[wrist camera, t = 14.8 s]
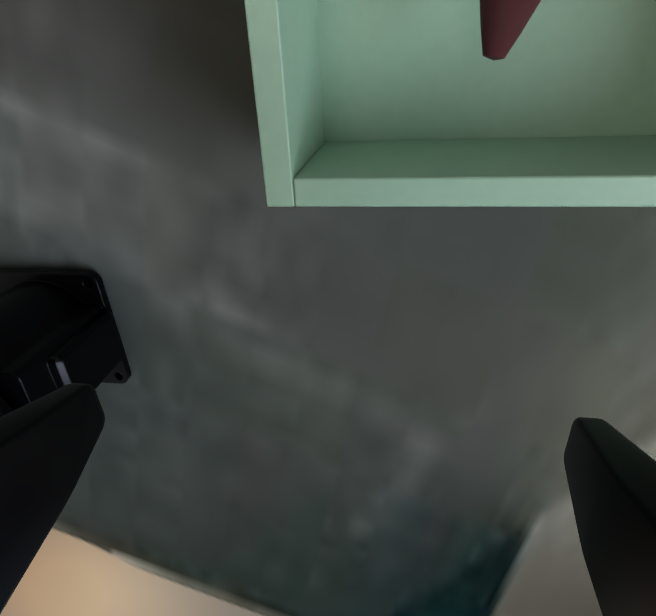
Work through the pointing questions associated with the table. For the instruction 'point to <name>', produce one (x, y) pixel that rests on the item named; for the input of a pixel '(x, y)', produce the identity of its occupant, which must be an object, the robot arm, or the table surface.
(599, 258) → the table surface
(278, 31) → the green open box
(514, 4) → the icecream
